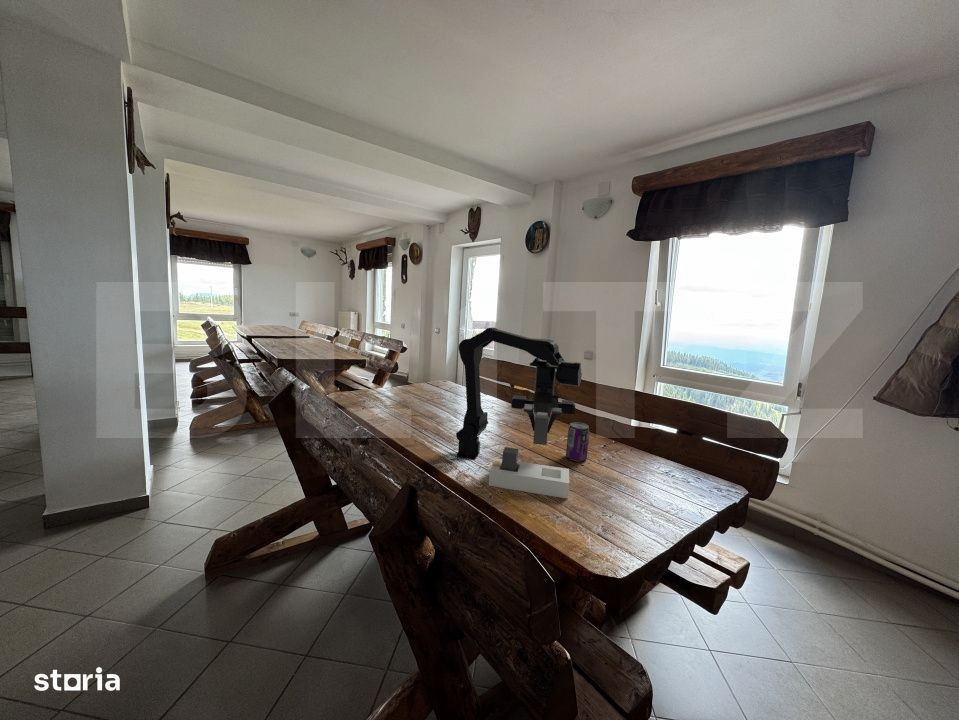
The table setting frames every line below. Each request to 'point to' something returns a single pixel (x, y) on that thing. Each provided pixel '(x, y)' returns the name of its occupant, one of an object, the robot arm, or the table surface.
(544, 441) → the plug
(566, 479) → the power strip
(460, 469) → the table surface
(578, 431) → the beverage can
